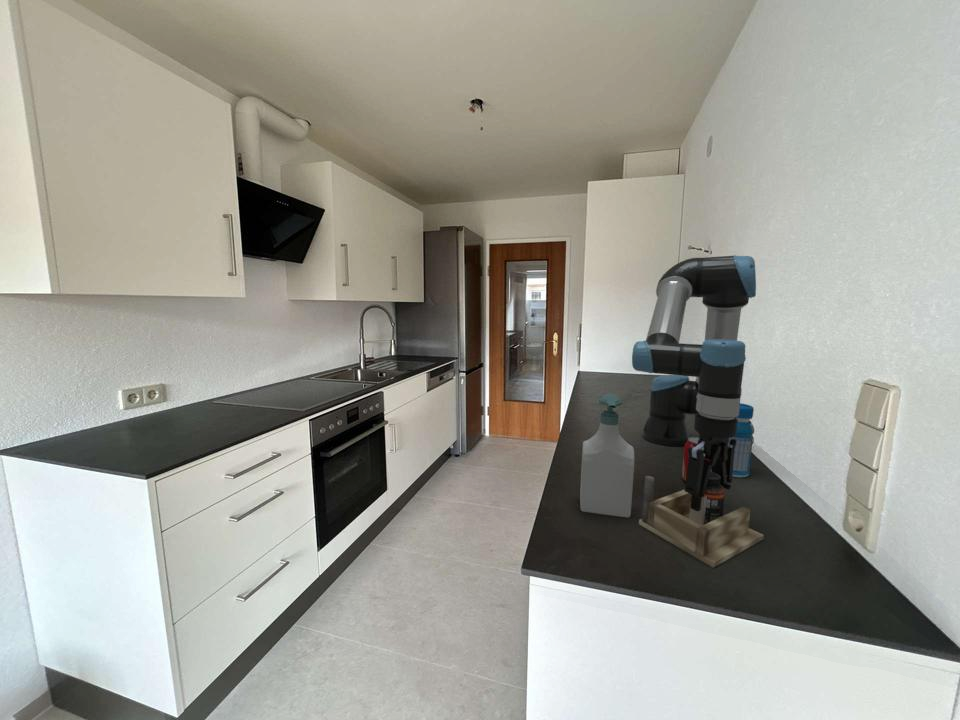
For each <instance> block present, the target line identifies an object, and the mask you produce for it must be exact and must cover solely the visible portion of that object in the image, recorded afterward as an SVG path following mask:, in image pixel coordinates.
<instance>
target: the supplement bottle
mask: <svg viewBox="0 0 960 720" xmlns="http://www.w3.org/2000/svg"><path fill="white" fill-rule="evenodd" d="M720 480H721V477H720V475H718V474H716V473H714V472H710V476H709V479H708V483H707V487H706V490H705V494H704V496H706V497H707V500H706V510H705V519H704V524H707V523H709V522H711V521H713V520H715V519H717V518H720V517H722V516H724V504H725V495H726V494H725V493H726V490H725V489H726V488H724V487H723V486H722V485H721V484H720V482H721V481H720Z"/></svg>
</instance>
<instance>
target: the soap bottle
mask: <svg viewBox="0 0 960 720" xmlns="http://www.w3.org/2000/svg"><path fill="white" fill-rule="evenodd" d="M598 403H600V404H601V405H603V406H606V410H603V411H602V412H601V413H600V421H599V422H600V423H599V427H598V430H597V431H596V433H595V434H594V435H593V436H592V437H589V439H586V440H584V441H583V442H582V448H581V449H582V452H581V454H582V455H581V470H580V487H579V488H580V490H579V491H580V492H579V493H580V494H579V500H580V501H579V502H580V503H579V504H580V511H581V512H583V513H591V514H598V515H604V516H605V515H606V516H614V517H621V518H630V517H631V515H632V513H631V512H632V501H633V489H634V474H635V449H634V446H632V444H629V443H628V442H627V441H626V440H625V439H624V438H623V437H622V436H621V435H620V431H619V414H618V413H617V412H616V411H613V410H614V409H617V407H619V406H622V405H623V401H622V399H621V398H620V397H618V396H617V395H615V394H610V393H609V394H604V395H603V396H601V397H600V398H599V400H598Z"/></svg>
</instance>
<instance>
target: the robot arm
mask: <svg viewBox="0 0 960 720" xmlns="http://www.w3.org/2000/svg"><path fill="white" fill-rule="evenodd" d="M756 275H757V273H756V261H755V259H754V258H753V256H750V255H736V254H735V255H726V256H725V255H724V256H710V257H708V256H707V257H706V256H705V257H691V258H688V259H685V260H682V261H680V262H677V263H676V264H675V265H673V266H672V267H670V268H669V269H667V271H666V272H665V273H664V274H662V276H661V278H660V279H659V280H658V282H657V285H656V290H655V295H656V297H657V298H656V302H655V306H654V310H653V313H652V317H651V320H650V325H649V327H648V331H647V333H646V334H647V335H646V338H645V340H641V341H636V342H635V343H634V344H633V347H632V356H631V364H632V368H633V370H635V371H636V372H643V373H648V374H658V375H659V374H660V375H659V376H655V377H654V378H653V379H652V381H651V388H650V402H649V414H648V418H647V420H646V421H645V424H644V427H643V428H642V435H643V436H642V437H644V438H643V439H644V440H646V441H649V442H651V443H654V444H657V445H662V446H668V447H682V445H684V446H685V443H686V442H687V441H688V438H689V437H690V435H689V430H688V427H687V423H686V415H693V416H694V423H693V429H694V431H695V432H697V433H698V435H699V436H698V437H699V440H698V443H697V444H698V445H697V446H696V447H692V446H690V447H689V448H688V453H689V460H688V468H687V476H686V481H685V485H684V489H685V492H688V493H690V494H691V495H692V496H691V506H690V516H689V519H690V520H692V521H694V522H696V523H698V524H700V525H704V519H705V510H706V500H707V497H706V496H704V494H705V490H706V487H707V483H708V479H709V476H710V472H711V468H712V472H714V473H716V474H718V475H720V477H721V480H720V481H721V482H720V484H721V485H722V486H723V487H724V489H726V490H728V491H729V490H731V488H732V485H729V484H732V483H733V482H732V481H733V476H732V475H733V462H734V450H735V446H736V442H737V441H736V440H735V439H731V438H732V437H734V436H736V433H737V424H738V420H737V419H736V418H735V417H737V416H738V415H739V407H740V403H741V397H742V390H743V389H742V384H743V378H744V377H743V376H744V367H745V361H746V358H747V357H746V343H745V342H743V341H741V340H738V335H739V328H740V320H741V313H742V309H743V308H744V307H745V306H747V305H748V304H749V301H750V300H749V299H752V298H755V297H756V295H757V294H756V293H757V292H756V291H757V279H756V278H757V276H756ZM690 298H702V305H704V306H705V307H706V308H707V311H706V319H705V320H706V322H705V330H704V340H703V341H702V344H696V343H695V344H694V343H680V339H681V334H682V329H683V323H684V317H685V312H686V306H687V301H689V299H690ZM689 377H692V378H693V377H695V380H690V378H689ZM704 458H706V459H709V460H710V461H709V460H706V459H704Z"/></svg>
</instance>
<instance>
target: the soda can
mask: <svg viewBox="0 0 960 720" xmlns="http://www.w3.org/2000/svg"><path fill="white" fill-rule="evenodd" d="M699 437H700V436H689V438H688V441H687V442H686V443H685V445H684V449H683V458H682V470H681V472H682V473H681V476H682V478H681V479H683V481H684V482H686V476H687V468H688V460H689V453H688V448H689V447H690V446H692V447H696V446H697V445H698V444H697V443H698V440H699ZM704 459H706V458H704ZM706 460H709V459H706ZM709 461H710V460H709ZM711 472H712V468H711Z"/></svg>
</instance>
